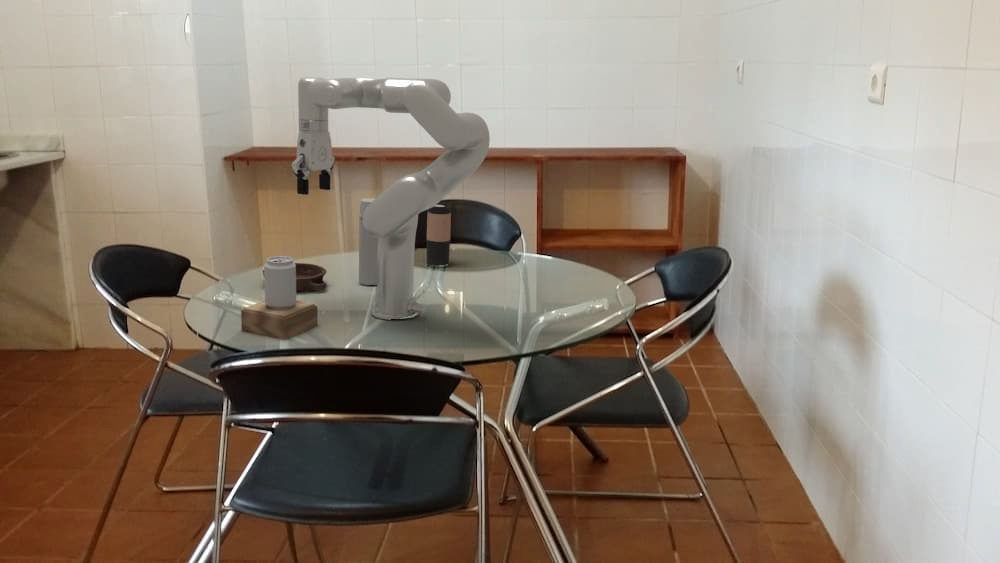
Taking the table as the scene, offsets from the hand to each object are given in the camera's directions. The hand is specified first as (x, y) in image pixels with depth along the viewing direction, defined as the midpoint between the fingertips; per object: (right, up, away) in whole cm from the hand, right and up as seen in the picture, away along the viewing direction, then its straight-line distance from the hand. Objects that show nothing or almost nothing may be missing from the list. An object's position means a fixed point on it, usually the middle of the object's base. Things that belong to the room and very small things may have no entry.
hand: (314, 191), depth 229 cm
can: (-5, -30, -16) cm, 34 cm away
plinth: (-5, -35, -15) cm, 39 cm away
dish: (-10, -25, +22) cm, 35 cm away
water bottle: (+11, -24, +29) cm, 40 cm away
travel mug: (+29, -19, +53) cm, 64 cm away
